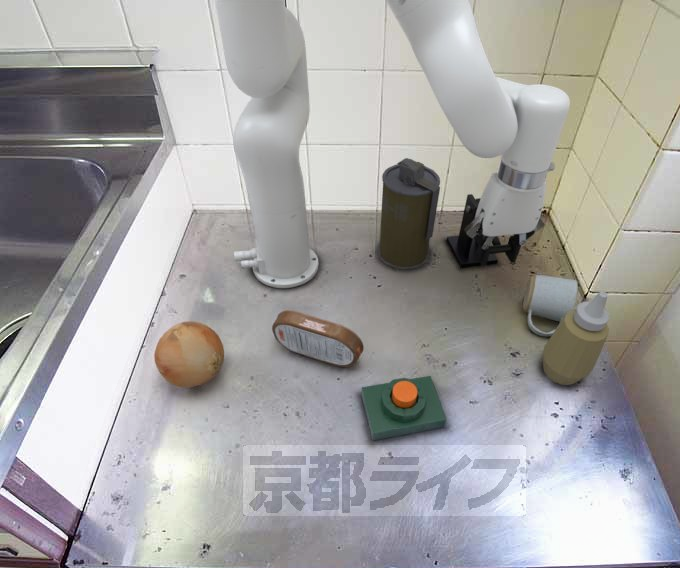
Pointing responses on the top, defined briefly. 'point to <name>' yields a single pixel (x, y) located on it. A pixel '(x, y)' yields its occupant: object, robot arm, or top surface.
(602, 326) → the squeeze bottle
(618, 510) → the top surface
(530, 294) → the ceramic mug
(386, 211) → the canister
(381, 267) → the top surface
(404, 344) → the top surface
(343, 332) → the tin
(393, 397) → the button
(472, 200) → the bracket
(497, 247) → the lever
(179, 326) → the onion
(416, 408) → the button box
